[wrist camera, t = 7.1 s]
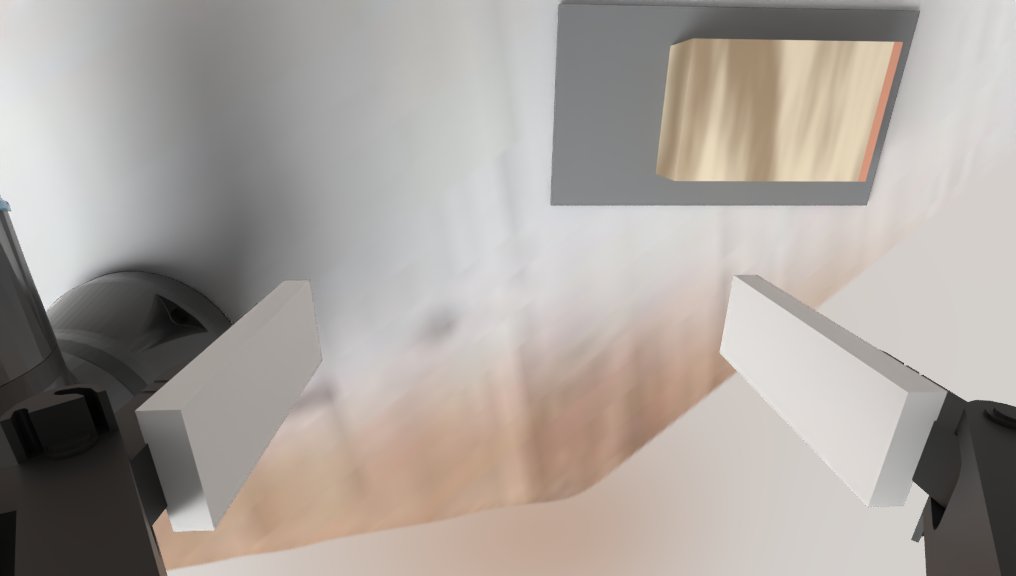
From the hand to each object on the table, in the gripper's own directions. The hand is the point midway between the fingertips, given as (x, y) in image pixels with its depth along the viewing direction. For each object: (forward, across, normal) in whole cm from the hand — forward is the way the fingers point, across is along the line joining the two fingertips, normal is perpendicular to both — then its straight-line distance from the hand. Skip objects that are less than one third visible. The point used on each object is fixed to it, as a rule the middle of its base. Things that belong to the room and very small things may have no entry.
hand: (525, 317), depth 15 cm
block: (+22, -12, -6) cm, 26 cm away
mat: (+25, -17, -6) cm, 31 cm away
